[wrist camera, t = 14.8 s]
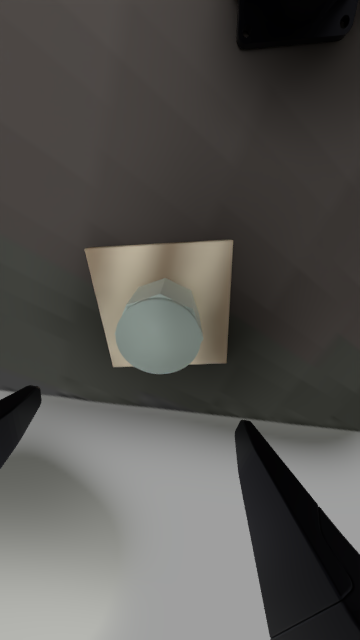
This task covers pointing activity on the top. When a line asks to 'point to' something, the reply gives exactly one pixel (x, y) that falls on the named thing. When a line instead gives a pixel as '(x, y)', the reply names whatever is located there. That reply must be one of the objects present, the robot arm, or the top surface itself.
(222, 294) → the holder
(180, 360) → the cap
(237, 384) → the top surface
